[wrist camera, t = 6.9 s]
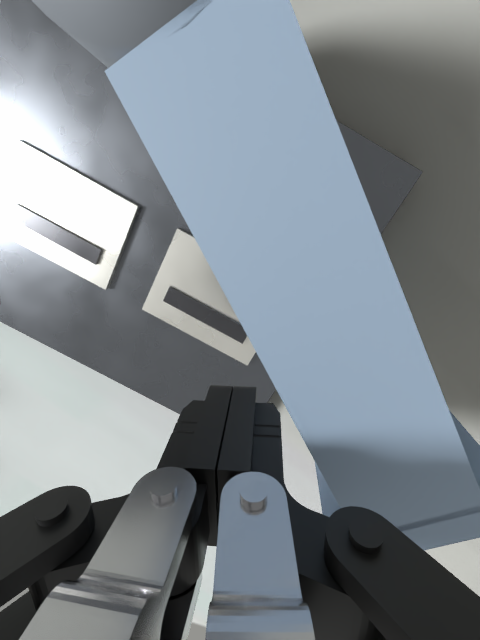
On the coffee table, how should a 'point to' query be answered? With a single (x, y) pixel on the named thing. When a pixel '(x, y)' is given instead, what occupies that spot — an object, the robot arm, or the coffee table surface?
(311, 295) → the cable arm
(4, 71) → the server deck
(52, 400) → the coffee table surface
